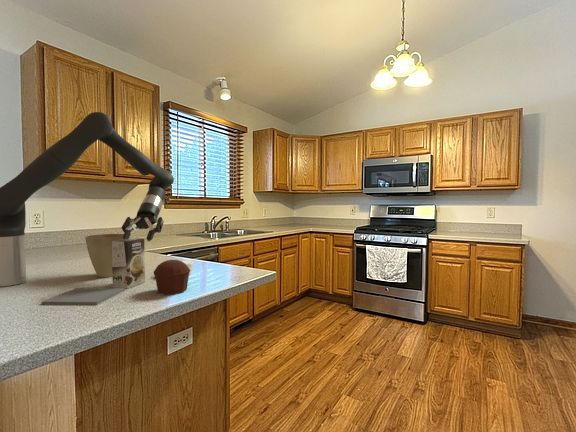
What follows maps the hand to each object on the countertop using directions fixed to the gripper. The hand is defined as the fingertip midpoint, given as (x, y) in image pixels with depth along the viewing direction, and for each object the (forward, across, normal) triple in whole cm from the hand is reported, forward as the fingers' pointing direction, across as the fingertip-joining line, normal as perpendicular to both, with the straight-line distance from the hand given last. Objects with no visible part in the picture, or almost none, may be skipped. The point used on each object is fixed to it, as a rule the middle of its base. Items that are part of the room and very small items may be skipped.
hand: (136, 239), depth 113 cm
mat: (+25, -6, -3) cm, 26 cm away
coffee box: (+15, 0, +7) cm, 16 cm away
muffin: (+20, +18, +2) cm, 27 cm away
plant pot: (+5, -16, +17) cm, 24 cm away
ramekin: (+4, +12, +18) cm, 22 cm away
